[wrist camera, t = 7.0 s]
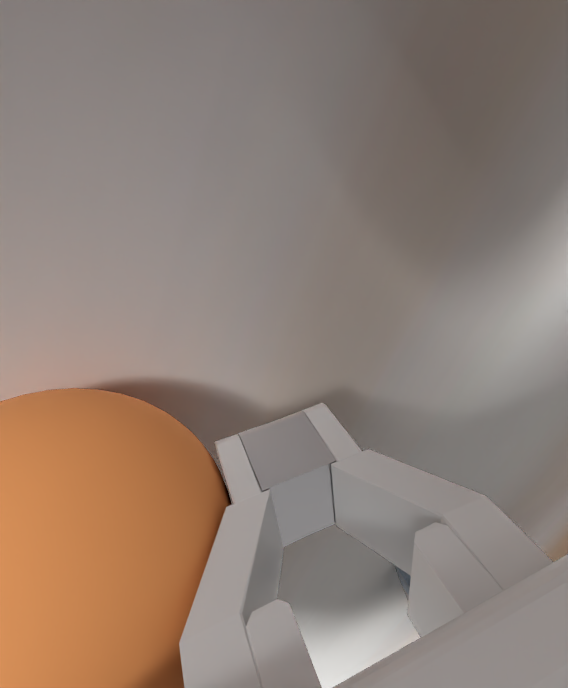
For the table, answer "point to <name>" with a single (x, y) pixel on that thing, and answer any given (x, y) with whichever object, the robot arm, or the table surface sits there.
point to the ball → (100, 539)
